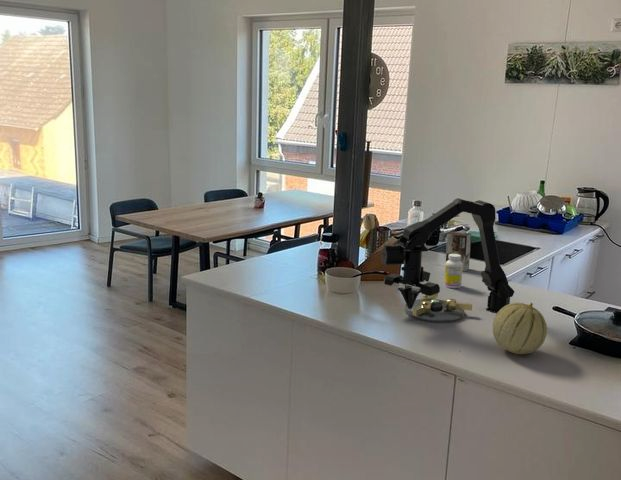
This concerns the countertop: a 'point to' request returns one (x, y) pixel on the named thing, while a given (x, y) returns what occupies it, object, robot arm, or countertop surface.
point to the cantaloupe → (519, 328)
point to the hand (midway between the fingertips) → (410, 308)
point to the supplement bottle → (453, 271)
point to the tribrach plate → (436, 312)
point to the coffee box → (459, 247)
